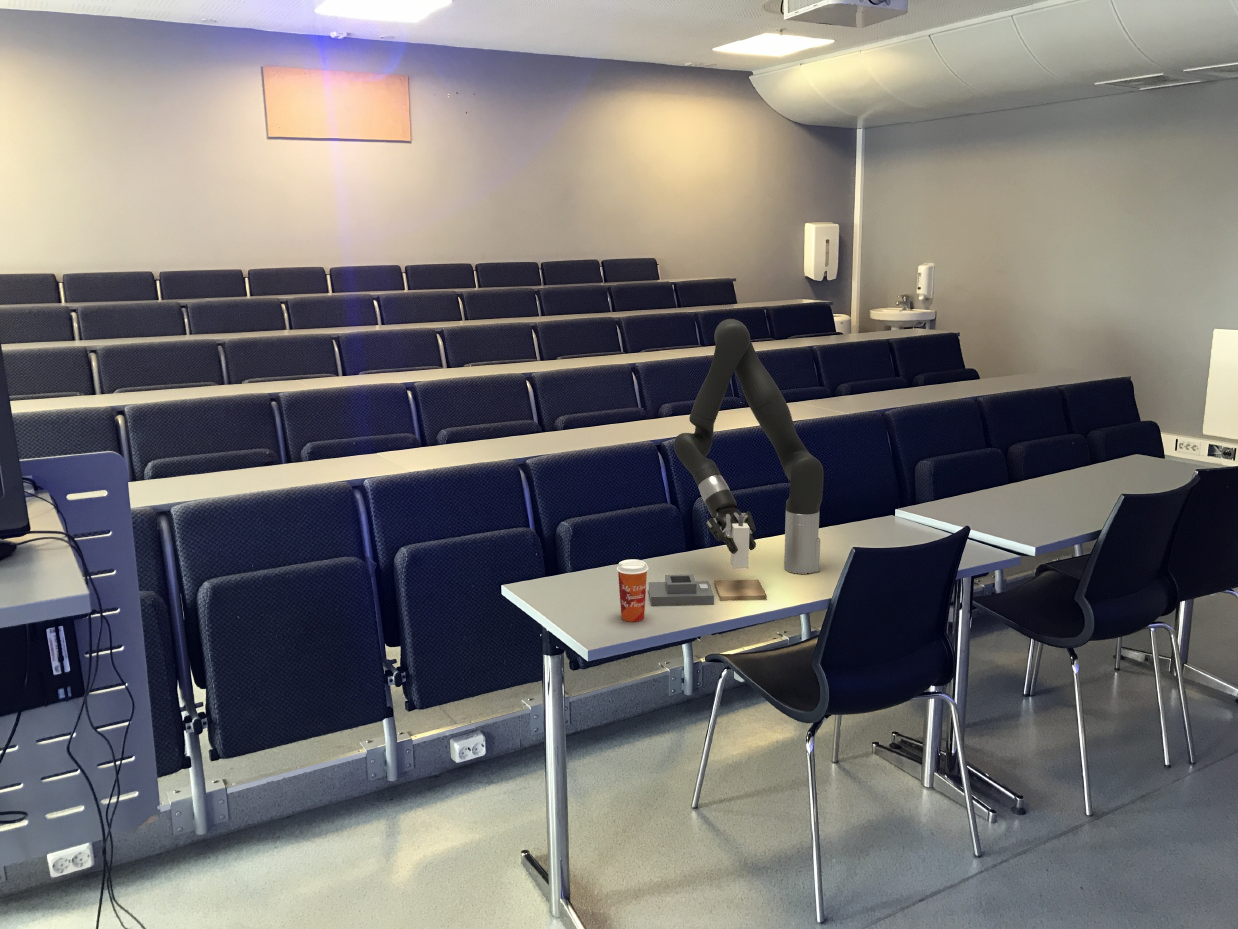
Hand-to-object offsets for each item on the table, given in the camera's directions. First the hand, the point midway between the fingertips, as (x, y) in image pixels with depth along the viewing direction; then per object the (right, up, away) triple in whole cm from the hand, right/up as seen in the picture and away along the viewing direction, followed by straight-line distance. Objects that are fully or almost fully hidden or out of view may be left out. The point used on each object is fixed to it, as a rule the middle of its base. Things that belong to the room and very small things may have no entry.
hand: (744, 550), depth 242 cm
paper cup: (-29, -16, -12) cm, 35 cm away
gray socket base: (-17, -12, +1) cm, 21 cm away
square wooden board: (-1, -11, +4) cm, 12 cm away
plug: (-1, -4, +2) cm, 5 cm away
